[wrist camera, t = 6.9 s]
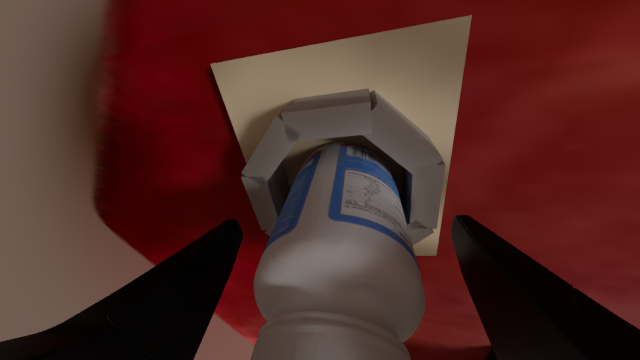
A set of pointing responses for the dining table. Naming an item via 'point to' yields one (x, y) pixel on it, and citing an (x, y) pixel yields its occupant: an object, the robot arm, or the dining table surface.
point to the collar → (352, 114)
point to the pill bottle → (339, 264)
